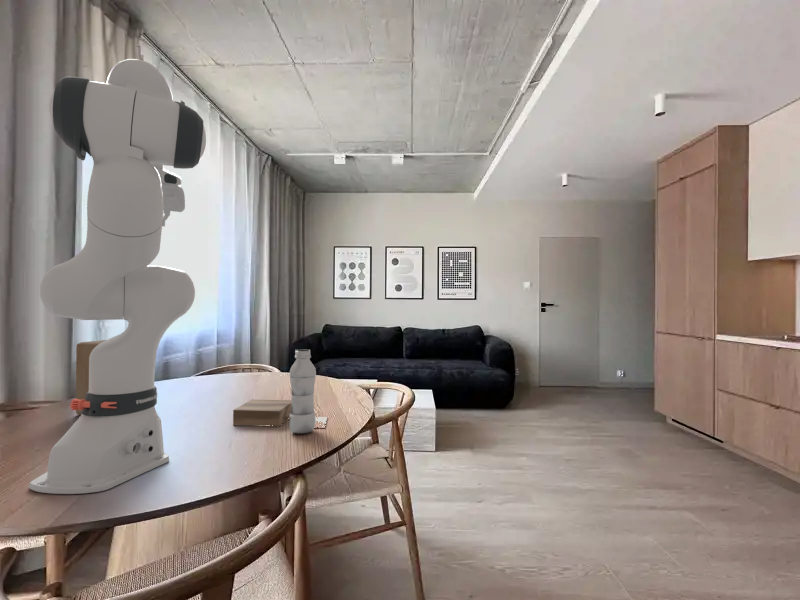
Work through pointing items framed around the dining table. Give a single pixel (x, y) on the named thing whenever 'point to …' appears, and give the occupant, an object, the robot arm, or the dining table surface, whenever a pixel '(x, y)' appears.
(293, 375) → the plastic bottle
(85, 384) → the block
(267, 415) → the base block
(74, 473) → the robot arm
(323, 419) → the page
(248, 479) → the dining table surface
